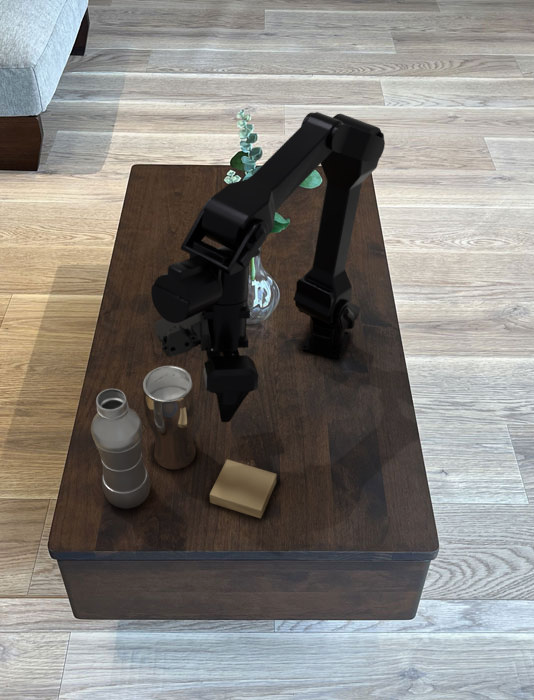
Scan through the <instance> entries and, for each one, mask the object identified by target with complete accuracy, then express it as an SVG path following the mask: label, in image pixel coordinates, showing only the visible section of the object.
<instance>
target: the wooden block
mask: <svg viewBox="0 0 534 700" xmlns="http://www.w3.org/2000/svg"><path fill="white" fill-rule="evenodd" d="M277 478H278V477H277V473H274V472H271V471H268V470H264V469H261V468H258V467H256V466H255V467H254V466H252V465H248V464H245V463H241V462H238V461H235V460H232V459H226V460H225V462H224V464H223V466H222V468H221V470H220V472H219V475H217V479H216V480H215V483H214V485H213V487H212V489H211V490H210V493H209V503H210V504H212V505H216V506H220V507H222V508H225V509H229V510H232V511H235V512H239V513H242V514H245V515H248V516H251V517H254V518H257V519H262V517H263V515H264V512H265V511H266V508H267V505H268V504H269V500H270V498H271V496H272V493H273V491H274V489H275V487H276V484H277Z"/></svg>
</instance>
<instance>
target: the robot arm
mask: <svg viewBox="0 0 534 700" xmlns="http://www.w3.org/2000/svg"><path fill="white" fill-rule="evenodd" d="M385 146H386V142H385V134H384V132H382V129H381V128H380V127H378V126H376V125H373V124H371V123H368V122H365V121H362V120H359V119H357V118H354V117H351V116H349V115H347V114H343V113H336V114H335V115H333V117H332V116H330V115H327V114H324V113H322V112H319V111H315V112H309V113H307V114H306V115H305V117H304V118H303V120H302V122H301V125H300V127H299V128H298V129H297V130H296V131H295V132H294V133H293V134H292V135H291V136H289V138H288V139H287V140H286V141H285V142H284V143H283V144H282V145H281V146H280V147H279V148H278V149H277V150H276V151H275V152H274V153H273V154H272V155H271V156H270V157H269V158H267V160H266V161H265V162H264V163H263V164H262V165H261V166H260V167H259V168H258V169H257V170H256V171H255V172H254V173H253V174H252V175H250V176H249V177H248V178H246V179H242V180H239V181H235V182H231V183H228V184H227V185H225V186H224V187H223V188H222V189H220V190H219V191H217V192H216V193H215V194H213V195H212V196H211V197H210V198H209V199H208V200H207V201H206V202H205V204H204V205H203V206H202V208H201V210H200V212H199V214H198V215H197V217H196V219H195V221H194V223H192V224H193V225H192V226H191V228H190V230H189V231H188V232H187V235H186V236H185V238H184V240H183V242H182V244H181V245H180V250H181V251H183V252H184V253H187V254H188V255H189V258H187V259H185V260H183V261H177V262H174V263H170V264H169V265H168V267H167V268H168V269H167V272H166V273H164V274H162V275H160V276H158V277H157V278H156V279H155V280H154V282H153V284H152V285H151V292H150V293H151V300H152V303H153V306H154V308H155V310H156V312H157V313H158V315H160V317H161V319H158V320H157V321H156V322H155V332H156V337H157V338H158V341H159V344H160V346H161V350H162V352H163V353H164V355H165V357H168V358H170V357H176V356H179V355H181V354H184V353H187V352H190V351H192V349H194V348H196V347H198V346H200V347H199V348H200V351H201V352H206V358H207V359H206V361H205V362H203V380H204V385H205V389H206V391H208V392H209V393H212V394H215V396H216V400H217V405H218V411H219V412H218V413H219V417H220V421H221V423H229V422H231V420H232V419H233V417H234V416H235V414H236V413H237V411H238V410H239V408H240V407H241V405H242V403H243V402H244V400H245V399H246V397H247V396H248V395H249V393H250V392H254V391H256V390H257V389H258V387H259V373H258V369H257V367H256V364H255V361H254V360H253V359H252V358H251V357H249V355H247V354H246V355H245V354H243V355H242V354H241V353H240V351H239V349H247V348H249V340H250V339H249V338H248V336H247V320H248V319H250V318H251V309H250V307H249V303H248V300H249V283H250V282H249V280H250V262H251V261H252V259H253V258H256V257H258V256H259V255H260V254H261V250H260V248H261V247H262V245H263V244H264V243H265V241H266V240H267V237H268V236H269V235H270V233H271V232H272V231H273V229H274V225H275V220H276V219H275V217H276V212H277V211H278V209H279V208H280V207H281V206H282V205H283V203H284V202H286V201H287V200H288V198H290V196H291V195H292V194H293V193H294V192H295V191H296V190H297V189H298V188H299V187H300V186H301V185H302V184H303V183H304V182H305V181H306V179H307V178H309V176H311V174H313V172H314V171H315V170H316V169H317V168H318V167H319V166H320V167H321V169H322V171H323V173H324V177H325V178H326V184H325V190H324V195H323V202H322V208H321V214H320V220H319V227H318V231H317V238H316V244H315V249H314V256H313V261H312V266H311V268H309V270H308V271H307V272H306V273H305V274H304V275H303V276H302V277H300V278H299V279H298V280H297V281H296V287H295V293H294V296H293V301H294V305H295V307H296V308H297V309H298V312H300V313H303V314H304V315H307V316H309V327H308V328H309V330H308V332H307V335H306V337H305V339H304V341H303V344H302V345H301V350H302V351H304V352H308V353H311V354H316V355H319V356H324V357H327V358H332V359H334V360H340V358H341V357H342V354H343V352H344V349H345V347H346V344H347V342H348V339H349V337H350V332H349V331H346V330H352V329H354V328H355V325H356V320H358V318H359V316H360V312H361V309H362V308H361V306H359V305H357V304H355V303H354V302H352V301H351V300H352V291H353V290H352V289H353V286H352V283H351V280H350V278H349V276H348V273H347V270H346V266H347V260H348V256H349V250H350V245H351V241H352V235H353V230H354V225H355V220H356V215H357V209H358V205H359V200H360V196H361V195H360V194H361V191H362V190H361V189H362V185H363V182H364V181H365V180H366V179H367V178H368V177H369V176H370V175H371V174H372V173H373V172H374V171H376V169H377V167H378V164H379V161H380V159H381V157H382V155H383V153H384V150H385ZM204 238H207V239H209V240H210V241H213V242H215V243H217V244H219V245H221V246H220V247H215V246H213V245H211V244H209V243H207V242H205V241H203V240H204Z"/></svg>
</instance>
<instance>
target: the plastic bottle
mask: <svg viewBox="0 0 534 700" xmlns="http://www.w3.org/2000/svg"><path fill="white" fill-rule="evenodd" d="M95 402H96V403H95V404H96V414H95V415H94V416H93V419H92V422H91V425H90V433H91V437H92V439H93V442H94V444H95V446H96V449H97V451H98V453H99V457H100V460H101V465H102V478H101V487H102V492H103V495H105V498H106V500H107V501H108V502H109V504H111V505H113V506H114V507H117V508H119V509H126V510H127V509H133V508H136V507H138V506H140V505H141V504H143V503H144V502H145V501H146V500H147V499H148V497H149V494H150V491H151V483H152V482H151V479H150V478H151V477H150V474H149V472H148V470H147V468H146V465H145V462H144V459H143V453H142V452H143V451H142V449H143V447H142V442H143V441H142V440H143V423H142V420H141V418H140V416H139V415H138V413H137V412H136V411H135V410H134V409H132V408H130V407H129V403H128V400H127V397H126V394H125V393H124V392H123V391H122V390H120V389H119V388H107V389H104V390H102V391H101V392H99V393H98V395H97V396H96V400H95Z"/></svg>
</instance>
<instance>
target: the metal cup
mask: <svg viewBox="0 0 534 700" xmlns="http://www.w3.org/2000/svg"><path fill="white" fill-rule="evenodd" d="M142 388H143V408H144V412H145V413H144V414H145V417H146V420H147V423H148V426H149V428H150V431H151V433H152V435H153V437H154V449H153V457H154V460H155V462H156V463H157V464H158V465H159V466H160V467H162V468H164V469H167V470H180V469H184V468H186V467H188V466H189V465H190V464H191V463H193V462H194V459H195V457H196V454H197V450H196V445H195V443H194V440H193V430H194V424H195V419H196V410H197V409H196V407H197V406H196V396H195V395H196V393H195V388H194V384H193V378H192V376H191V374H190V373H189V372H188V371H187V370H185V369H184V368H183V367H180V366H178V365H177V366H176V365H163V366H159V367H157V368H154V369H152V370H151V371H149V372H148V373H147V374H146V375H145V377H144V379H143V382H142Z"/></svg>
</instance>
